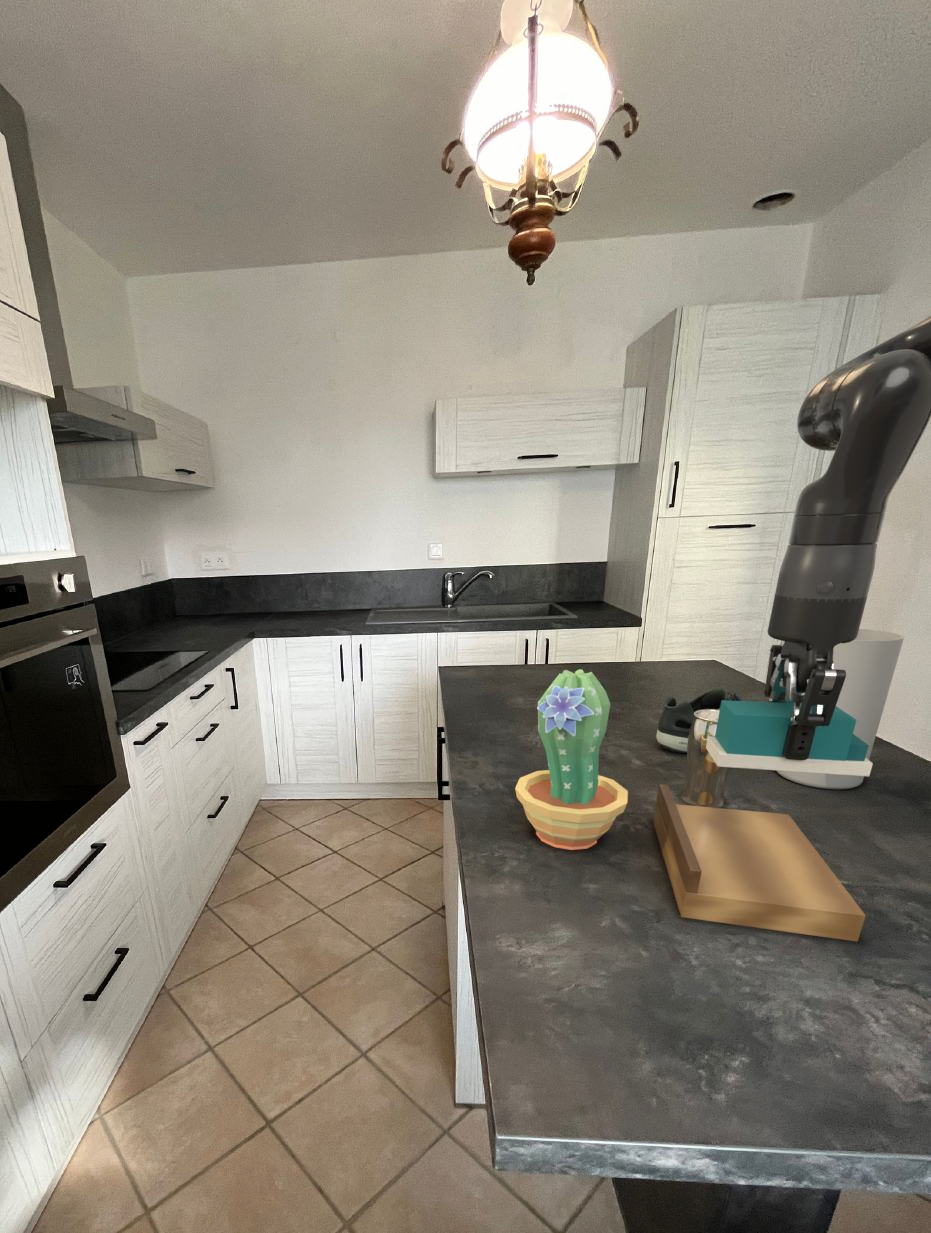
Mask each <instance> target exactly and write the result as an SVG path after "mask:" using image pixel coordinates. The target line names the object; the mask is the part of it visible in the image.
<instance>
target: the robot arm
mask: <svg viewBox="0 0 931 1233" xmlns="http://www.w3.org/2000/svg"><path fill="white" fill-rule="evenodd" d="M930 420H931V315H929V316H928V317H926V318H924V319H923V320H922V321H920V322H919V323H917V324H915V325H914V326H911V327H910V328H907V329H906V330H904V331H902V332H900V333H899V334H896V335H894V336H893V337H891V338H889V339H886V340H885V341H884V342H882V343H879V344H878V345H876V346H873V347H872V348H871V349H868V350H867V351H865V352H863V353H861V354H859V355H858V356H856V357H854V358H852V359H850V360H849V361H847V362H846V363H843V364H842V365H841V366H839V367H837V368H836V369H834V370H832V371H831V372H830V373H828V374H826V376H824V377H823V378H821V379H820V380H819V381H818V382H817V384H815V385H814V386H813V387H812V389H811V390H810V391H809V392H808V394H807V395H806V397H805V398H804V399H803V401H802V404H801V406H800V408H799V411H798V414H797V420H796V427H797V432H798V435H799V437H800V439H801V440H802V441H803V443H805V444H806V445H807V446H808V447H810V448H812V449H815V450H818V451H824V452H834V453H833V455H832V458H831V460H830V462H829V465H828V467H827V470H826V471H825V472H824V473H823V475H822V476H821V477H820V478H818V479H816V480H814V481H812V482H810V483H808V484H807V485H806V486H805V487H803V489H802V490H801V491H800V493H799V495H798V498H797V501H796V505H795V509H794V513H793V520H792V525H791V529H790V534H789V537H788V538H789V539H788V544H787V546H786V551H785V553H784V556H783V559H782V561H781V565H780V568H779V573H778V577H777V581H776V582H777V583H776V588H775V593H774V597H773V602H772V607H771V613H770V617H769V622H768V628H767V634H768V636H769V637H770V638H771V639H774V640H777V641H782V642H783V644H772V645H771V647H770V650H769V658H768V666H767V672H766V680H765V686H764V690H763V694H764V697H765V698H767V702H777V703H788V704H790V718H789V722H790V724H789V726H788V731H787V735H786V739H785V744H784V748H783V753H782V754H783V756H784V757H785V758H786V759H789V760H806V759H808V757H809V754H810V750H811V746H812V742H813V738H814V733H815V729H816V727H820V726H829V724H830V721H831V718H832V715H833V713H834V710H835V707H836V704H837V701H838V698H839V695H840V692H841V690H842V687H843V684H844V681H845V678H846V671H845V670H840V669H834V662H833V652H834V651H833V649H834V647H835V646H836V645H837V644H840V643H848V642H851V641H853V640H855V639H856V637H857V635H858V631H859V629H860V626H861V623H862V619H863V615H864V611H865V607H866V603H867V600H868V597H869V596H868V595H869V591H870V588H871V584H872V580H873V576H874V572H875V567H876V557H877V556H876V554H877V549H878V542H879V539H880V537H881V536H880V535H881V533H882V532H881V531H882V527H883V523H884V521H885V515H886V512H887V506H888V502H889V498H890V495H891V493H892V492H893V490H894V488H895V486H896V485H897V483H898V481H899V480H900V479H901V476H902V475H903V473H904V471H905V469H906V467H907V465H908V464H909V462H910V460H911V458H912V456H913V455H914V452H915V450H916V448H917V446H918V445H919V442H920V441H921V439H922V437H923V436H924V433H925V430H926V429H927V427H928V425H929V423H930ZM802 693H805V694H804V695H801V694H802ZM800 704H801V707H800ZM823 705H824V708H823ZM811 707H812V714H811V713H810V710H811ZM822 709H823V711H822Z"/></svg>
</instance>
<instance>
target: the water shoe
mask: <svg viewBox="0 0 931 1233" xmlns="http://www.w3.org/2000/svg"><path fill="white" fill-rule="evenodd" d="M729 695H730V697H729ZM722 700H725V701H742V699H741V698H740V697H739V696H738V695H737V694H736V693H735V692H732V693H730V692H728V690H726V689H725V688H714V689H712V690H710V691H707V692H704V693H702V694H701V695H698V696H697V697H695V698H694V699H692V700H690V701H689V702H688V701H686V700H685V701H681V702H679V703H677V700H676V698H675V697H674V696H668V697H667V698H666V700H665V702H664V704H663V705H664V708H663V710H662V712H661V715H660V718H659V720H658V723H657V726H658V728H657V731H656V735H655V738H656V741H657V743H658V744H659V745H660V746H661V747H662V748H663V749H666V750H669V751H670V752H674V753H679V754H687V744H688V737H689V732H690V728H691V724H692V720H693V717H694V712H696V711H698V710H705V709H715V710H720V706H721V701H722Z"/></svg>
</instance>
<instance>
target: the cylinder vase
mask: <svg viewBox="0 0 931 1233" xmlns="http://www.w3.org/2000/svg"><path fill="white" fill-rule="evenodd" d="M904 639H905V636H904V635H902V634H900V633H896V632H891V631H886V630H878V629H871V628H859V631H858V635H857V637H856V639H855V640H853V641H851V642H848V643H840V644H837V645H836V646H835V647H834V649H833V651H834V652H833V662H834V669H840V670H845V671H846V678H845V681H844V684H843V687H842V690H841V692H840V695H839V698H838V701H837V704H836V706H837V707H838V708H840V709H841V710H843V711H844V712H846V713H847V714H849V715H850V716H851V717H853V718H854V719H856V724H855V728H854V732H853V734H854V735H855V736H857V737H858V738H859V739H861V740H862V741H864V742H865V743H866V744H868V745H869V746H868V750H867V754H866V757H865V758H867V759H868V760H869V761H870V757H871V754H872V751H873V748H874V743H875V740H876V737H877V733H878V730H879V726H880V724H881V720H882V716H883V712H884V709H885V706H886V702H887V699H888V695H889V692H890V687H891V685H892V681H893V678H894V674H895V670H896V667H897V664H898V660H899V656H900V653H901V649H902V646H903V643H904ZM804 694H805V693H802V694H801V695H804ZM775 771H776V772H777V774H779V775H780V776H782V777H783V778H784V779H787V780H788V781H791V782H794V783H795V784H796V783H797V784H800V785H803V786H807V787H810V788H811V787H812V788H817V789H824V790H849V789H855V788H857V787H859V786H860V785H862V783H863V782H864V778H865V776H854V775H839V774H824V773H809V772H794V771H779V770H775Z"/></svg>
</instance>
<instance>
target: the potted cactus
mask: <svg viewBox="0 0 931 1233" xmlns="http://www.w3.org/2000/svg"><path fill="white" fill-rule="evenodd" d="M610 708H611V701H610V699H609V697H608V694H607V691H606V690H605V689H604V687H603V686H602V684H601V683H600V681H599V680H598V678H597V677H596V675H595V674H594V673H593V672H592V671H590V672H586V673H585V672H584V670H583V669H580V668H579V669H577V670H576V671H575V672H572V671H570V670H567V669H565V670H563V671H562V672H561V673H558V675H557V676H556V678H554V680H553V681H552V683H551V684H550V685H549V686H548V688H547V689H546V690H545V691H544V693H543V694H542V696H541V697H540V699H539V700H538V701H537V707H536V709H537V733H538V735H539V737H540V739H541V742H542V744H543V747H544V750H545V753H546V759H547V760H546V761H547V766H548V769H545V770H536V771H534V772H531V773H529V774H526V775H523V776H521V777H519V779H518V782H517V783H516V786H515V788H514V789H515V790H514V791H515V794H516V798H517V800H518V801H519V802H520V803H521V805H522V807H523V810H524V814H525V816H526V819H527V820H528V821H529V823H530V824H531V825H532V827H533V828H534V830H535V835H536V836H537V837H538V839H539V840H540V841H541V842H543V843H545V844H547V845H549V846H551V847H554V848H558V849H564V850H569V851H576V850H584V849H589V848H591V847H593V846H595V845H596V844H598V840H599V839H600V838H601V837H602V836H603V835H604V834H606V833H607V832H608V831H609V830H610V829H611V827H612V826H613V824H614V822H615V820H616V819H617V817H618V816H620V815H622V814H623V813H624V812H625V810H626V807H627V806H628V805H627V804H628V801H629V796H628V795H629V791H628V789H626V788H625V787H623V786H622V785H621V784H620V783H618V782H617V781H615V780H614V779H612V778H609V777H606V776H604V775H600V774H599V763H600V762H599V759H600V754H599V752H600V748H601V745H602V742H603V741H604V738H605V734H606V732H607V727H608V722H609V716H610V715H609V714H610Z"/></svg>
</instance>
